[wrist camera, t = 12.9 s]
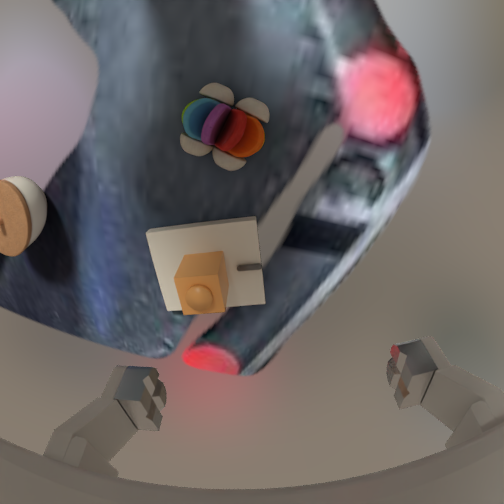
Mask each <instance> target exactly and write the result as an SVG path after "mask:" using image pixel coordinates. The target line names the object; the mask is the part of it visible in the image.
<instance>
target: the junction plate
mask: <svg viewBox="0 0 504 504" xmlns="http://www.w3.org/2000/svg"><path fill="white" fill-rule="evenodd" d="M146 236H147V240H148V244H149V248H150V252H151V256H152V259H153V263H154V267H155V270H156V274H157V277H158V281H159V284H160V288H161V291H162V294H163V298H164V301H165V304H166V308H167V311H176V310H182V307H181V304H180V300H179V297H178V293H177V289H176V286H175V282H174V276H175V274H176V272H177V270H178V268H179V265H180V263H181V261H182V259H183V257H184V255H187V254H197V253H207V252H216V251H223V254H224V260H225V265H226V271H227V277H228V283H229V288H228V296H227V303H226V307H234V306H246V305H257V304H266V303H265V291H264V282H263V273H262V265H261V256H260V247H259V238H258V230H257V221H256V216H251V217H242V218H233V219H224V220H216V221H207V222H199V223H191V224H183V225H175V226H167V227H160V228H152V229H149V230H148V231H147V232H146Z"/></svg>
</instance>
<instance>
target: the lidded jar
mask: <svg viewBox="0 0 504 504" xmlns="http://www.w3.org/2000/svg"><path fill="white" fill-rule="evenodd" d="M46 217H47V200H46V197H45V194H44V192H43V191H42V189H41V188H40V187H39V186H38V185H37V184H36V183H35V182H33V181H32V180H30V179H29V178H26V177H22V176H14V177H8V178H5V179H2V180H0V252H1V253H2V254H4V255H7V256H17V255H19V254H21V253H22V252H23V251H24V250H25V249H26V248H27V247H28V246H29V245H31V244H32V243H33V242H34V241H35V240H36V239H37V237H38V236H39V234H40V233H41V232H42V229H43V227H44V225H45V222H46Z"/></svg>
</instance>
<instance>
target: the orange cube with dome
mask: <svg viewBox="0 0 504 504" xmlns="http://www.w3.org/2000/svg"><path fill="white" fill-rule="evenodd" d="M174 282H175V286H176V289H177V293H178V297H179V300H180V304H181V307H182V311H183V314H184V315H190V314H205V313H219V312H225V310H226V303H227V296H228V288H229V283H228V277H227V271H226V265H225V260H224V254H223V251H216V252H207V253H197V254H187V255H184V257H183V259H182V261H181V263H180V265H179V268H178V270H177V272H176V274H175V276H174Z"/></svg>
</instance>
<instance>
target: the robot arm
mask: <svg viewBox="0 0 504 504" xmlns="http://www.w3.org/2000/svg"><path fill="white" fill-rule="evenodd" d="M390 353H391V356H392V358H391V359H390V360H389V361H388V364H387V379H388V382H389V385H390V386H391V387H392V388H394V389H395V390H396V391H395V394H394V397H395V400H396V402H397V405H398V407H399V409H404V408H408V407H412V406H415V405H419V404H421V406H422V407H423V408H424V409H426V410H427V411H428V412H429V413H431V414H432V415H433V416H435V417H436V418H437V419H438V420H440V421H441V422H442V423H443V424H445V425H446V426H447V427H448V428H450V429H451V430H452V431H453V433H452V435H451V436H450V438H449V439H448V440H447V442H446V444H445V446H446V448H447V449H446V450H443V451H441V452H438V453H435V454H433V455H430V456H427V457H424V458H422V459H419V460H416V461H413V462H410V463H406V464H403V465H400V466H397V467H393V468H390V469H386V470H382V471H378V472H374V473H370V474H366V475H362V476H357V477H352V478H348V479H343V480H337V481H332V482H325V483H318V484H311V485H303V486H295V487H284V488H270V489H202V488H188V487H177V486H168V485H159V484H153V483H146V482H140V481H134V480H129V479H124V478H119V477H118V471H117V470H116V469H115V468H114V467H113V466H112V465H111V464H110V463H109V461H110V460H111V459H112V458H113V457H114V456H115V455H116V454H117V453H118V451H119V450H120V449H121V448H122V447H123V446H124V445H125V444H126V443H127V442H128V441H129V440H130V439H131V438H132V437H133V435H134V434H135V433H136V432H137V431H138V430H150V431H159V429H160V425H161V421H162V415H161V413H160V411H161V410H162V409H163V408H164V407H165V404H166V389H165V386H164V384H163V382H161V381H160V380H159V379H158V376H159V373H158V371H157V369H156V368H153V367H137V366H136V367H135V366H118V365H117V366H116V367H115V368H114V369H113V371H112V373H111V375H110V378H109V380H108V382H107V384H106V387H105V389H104V391H103V393H102V396H101V398H96V399H95V400H93V401H92V402H91V403H90V404H88V405H87V406H86V407H84V408H83V409H81V410H80V411H79V412H77V413H76V414H75V415H74V416H72V417H71V418H69V419H68V420H67V421H65V422H64V423H63V424H61V425H60V426H58V427H57V428H56V429H54V432H53V434H52V436H51V438H50V440H49V443H48V445H47V447H46V450H45V452H44V454H43V455H40V454H37V453H35V452H32V451H30V450H27V449H25V448H22V447H20V446H17V445H16V444H13V443H11V442H9V441H7V440H5V439H2V438H0V504H504V393H503V391H502V390H501V389H500V388H498V387H496V386H494V385H492V384H490V383H488V382H486V381H484V380H482V379H481V378H479V377H477V376H475V375H473V374H471V373H469V372H467V371H465V370H464V369H462V368H460V367H458V366H456V365H452V366H451V365H450V363H449V361H448V360H447V358H446V356H445V355H444V353H443V352H442V350H441V349H440V347H439V346H438V344H437V342H436V341H435V339H434V338H433V337H431V336H427V337H424V338H419V339H415V340H411V341H407V342H402V343H398V344H394V345H393V346H392V347H391V351H390Z"/></svg>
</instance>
